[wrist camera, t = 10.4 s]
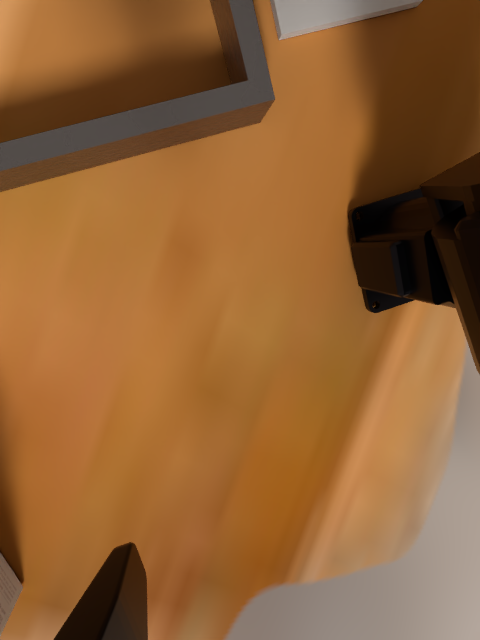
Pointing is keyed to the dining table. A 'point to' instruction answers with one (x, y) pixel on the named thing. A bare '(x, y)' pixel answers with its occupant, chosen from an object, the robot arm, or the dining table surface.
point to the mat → (329, 13)
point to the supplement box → (7, 591)
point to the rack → (155, 113)
